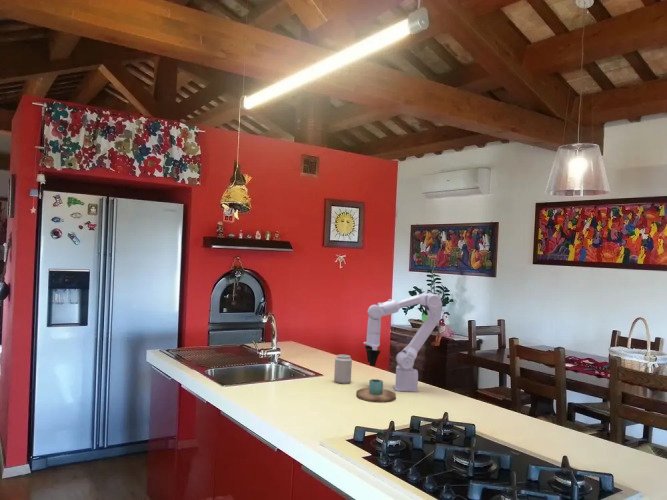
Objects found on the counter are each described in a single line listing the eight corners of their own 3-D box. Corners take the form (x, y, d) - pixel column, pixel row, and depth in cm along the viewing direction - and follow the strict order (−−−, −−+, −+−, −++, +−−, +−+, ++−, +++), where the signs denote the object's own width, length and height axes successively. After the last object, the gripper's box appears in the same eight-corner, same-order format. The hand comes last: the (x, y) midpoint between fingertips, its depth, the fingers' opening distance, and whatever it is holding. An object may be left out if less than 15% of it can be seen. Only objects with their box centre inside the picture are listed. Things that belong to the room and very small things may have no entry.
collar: (381, 391, 221) (381, 379, 221) (383, 395, 215) (383, 382, 215) (368, 391, 220) (369, 379, 220) (370, 394, 215) (370, 382, 215)
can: (344, 385, 235) (345, 357, 235) (330, 381, 239) (332, 355, 239) (354, 382, 241) (355, 355, 241) (340, 379, 245) (341, 353, 245)
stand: (392, 392, 226) (392, 378, 226) (398, 403, 210) (399, 387, 210) (354, 391, 225) (355, 376, 225) (358, 401, 209) (359, 386, 209)
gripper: (362, 329, 239) (360, 360, 239) (366, 334, 224) (364, 366, 224) (378, 330, 239) (376, 361, 239) (383, 335, 225) (380, 368, 225)
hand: (371, 364), depth 232 cm, fingers open, 7 cm apart
